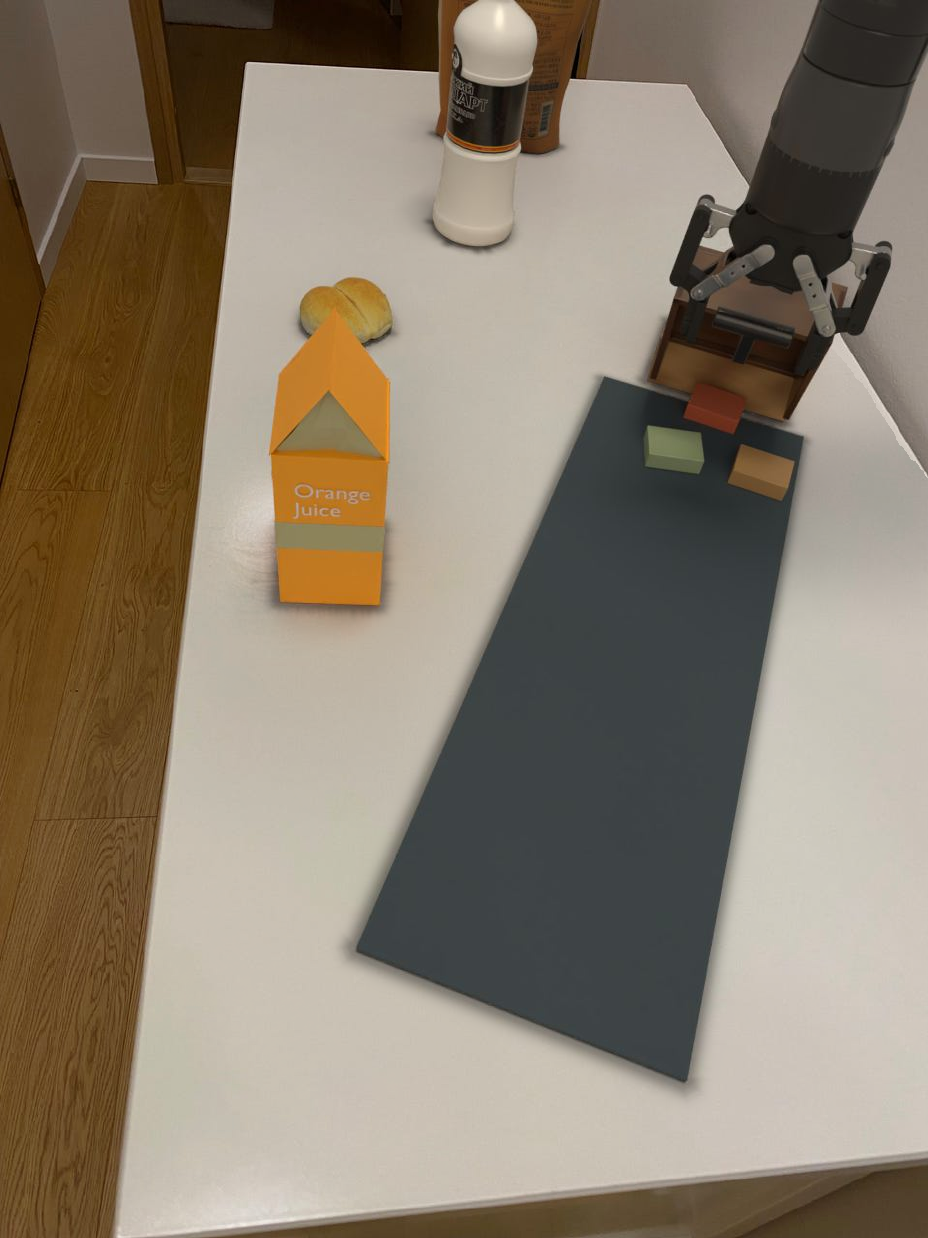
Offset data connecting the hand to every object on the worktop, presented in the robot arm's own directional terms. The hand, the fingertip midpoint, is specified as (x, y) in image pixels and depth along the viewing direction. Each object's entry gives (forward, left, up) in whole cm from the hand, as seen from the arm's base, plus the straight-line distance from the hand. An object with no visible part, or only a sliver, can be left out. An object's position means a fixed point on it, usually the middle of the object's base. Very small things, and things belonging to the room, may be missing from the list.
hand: (744, 353), depth 73 cm
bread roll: (+37, -9, -15) cm, 41 cm away
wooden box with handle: (0, -13, -2) cm, 13 cm away
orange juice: (+25, +21, -15) cm, 36 cm away
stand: (0, -20, -15) cm, 25 cm away
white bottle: (+32, -33, -15) cm, 49 cm away
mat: (+1, +18, -15) cm, 23 cm away
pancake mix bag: (+36, -55, -15) cm, 68 cm away
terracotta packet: (0, -12, -13) cm, 18 cm away
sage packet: (+3, -4, -13) cm, 14 cm away
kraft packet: (-6, -5, -13) cm, 15 cm away
